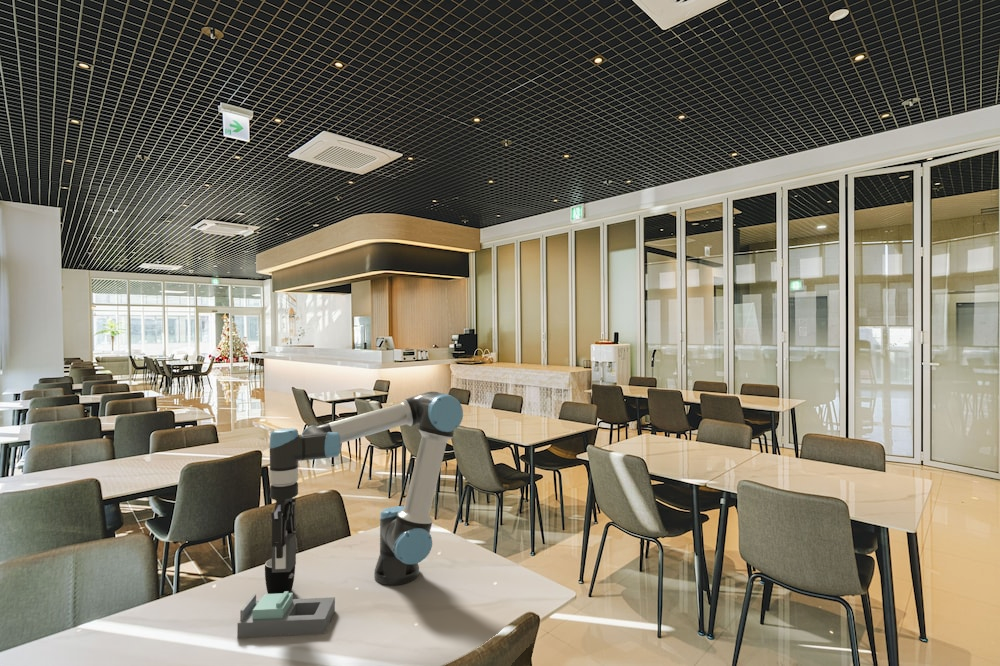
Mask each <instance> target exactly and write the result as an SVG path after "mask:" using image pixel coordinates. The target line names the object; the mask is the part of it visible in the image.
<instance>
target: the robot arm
mask: <svg viewBox="0 0 1000 666" xmlns="http://www.w3.org/2000/svg"><path fill="white" fill-rule="evenodd" d="M463 417H464V410H463V406H462V404H461V402H460V401H459V400H458V399H457V398H456V397H454V396H453V395H451V394H448V393H441V392H438V391H426V392H424V393H421V394H417V395H414V396H410V397H408V398H403V399H402V402H401V403H397V404H393V405H390V406H386V407H383V408H378V409H375V410H370V411H368V412H364V413H361V414H357V415H354V416H349V417H346V418H343V419H338V420H335V421H331V422H328V423H324V424H321V425H309V426H307V427H306V428H305V429H304V430H303V431H302V433H301V434H299V431H298V429H297V428H293V427H290V428H287V427H285V428H278V429H275V430H272V432H271V433H270V434H269V435H270V436H269V472H268V473H267V474H268V476H269V483H270V485H269V498H270V499H271V500H274V501H275V505H274V511H271V513H270V515H271V548H272V547H275V569H285V568H286V545H285V533H286V530H287V534H292V533H296V532H295V531H296V529H297V528H296V501H297V498H296V497H297V496H298V494H299V483H298V480H299V462H301V461H311V460H320V459H331V458H335V457H338V456H340V455H341V452H342V451H341V450H342V443H346V442H350V441H353V440H357V439H361V438H364V437H367V436H370V435H374V434H377V433H382V432H384V431H388V430H392V429H394V428H399V427H402V426H406V425H407V426H409V427H412V426H416V425H418V426H419V427H418V432H419V433H420V436H421V438H420V442H419V445H418V450H417V453H416V454H417V455H416V458H415V462H414V466H413V468H412V469H413V470H412V475H411V479H410V482H409V486H408V490H407V493H406V498H405V501H404V502H405V503H404V505H397V506H390V507H387V508H384V509H382V510H381V511H380V516H379V522H380V523H379V554H378V555H379V556H378V559H377V562H376V565H375V568H374V580H375V581H376V582H377V583H379V584H381V585H386V586H398V585H404V584H407V583H411V582H412V581H414V580H416V579H418V577H419V574H420V565H419V563H420V562H422V561H423V560H425V559H426V558H427V557H428V556H429V554H430V553H431V550H432V548H433V538H432V535H431V529H432V524H433V521H434V520H433V518H432V517H431V515H430V513H431V509H432V506H433V505H432V504H433V501H434V496H435V492H436V489H437V483H438V480H439V476H440V471H441V466H442V464H443V461H444V460H443V459H444V455H445V451H446V448H447V447H446V446H447V443H448V442H449V441H450V440H451V439H453V438H454V433H455V430H456V429H457V428H459V426H460V425H461V423H462V421H463Z"/></svg>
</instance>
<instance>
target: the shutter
mask: <svg viewBox="0 0 1000 666" xmlns="http://www.w3.org/2000/svg"><path fill="white" fill-rule="evenodd" d="M293 599H294V593H293V592H290V593H289V591H284V593H278V594H268V593H265V594H263V596H262V597H261V598H260V599H259V600H258V601H259V602H258V604H257V605H256V606H255V608H254V609H253V616H252V619H270V618H283V617H284V615H285V613H286V612H287V610H288V609H289V607H290V605H291V604H292V602H293Z"/></svg>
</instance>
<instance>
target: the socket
mask: <svg viewBox="0 0 1000 666" xmlns="http://www.w3.org/2000/svg"><path fill="white" fill-rule="evenodd" d="M259 601H260V600H257V594H256V593H255V594H254V593H253V594H252V595H251V596H250V598H249V599H248V600H247V601H246V603H245V604H244V606H243V607H242V608H241V609H240V613H239V614H240V615H239V616H240V617H239V620H238V622H237V628H236V631H237V633H236V636H237V637H236V638H237V639H248V638H266V637H267V638H268V637H269V638H270V637H283V636H284V637H285V636H287V637H288V636H302V635H303V636H305V635H309V636H310V635H322V634H323V635H325V634H326V632H327V629H328V627H329V625H330V623H331V621H332V618H333V616H334V614H335V612H336V597H335V596H334V597H332V596H331V597H310V598H293V602H292V604H291V605H290V607H289V609H288V610H287V612H286V613H285V615H284V617H283V618H270V619H252V616H253V609H254V608H255V606H256V605H257V604H258V602H259Z"/></svg>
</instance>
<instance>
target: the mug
mask: <svg viewBox="0 0 1000 666" xmlns="http://www.w3.org/2000/svg"><path fill="white" fill-rule="evenodd" d="M295 574H296V565H295V566H294V567H293V569H292V570H291V571H290V572H276V573H272V558H270V559H268V560H266V561H265V564H264V576H265V577H264V579H265V586H266V592H267V594H278V593H284V591H289V593H292V590H293V586H294V581H295V576H296V575H295Z"/></svg>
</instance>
